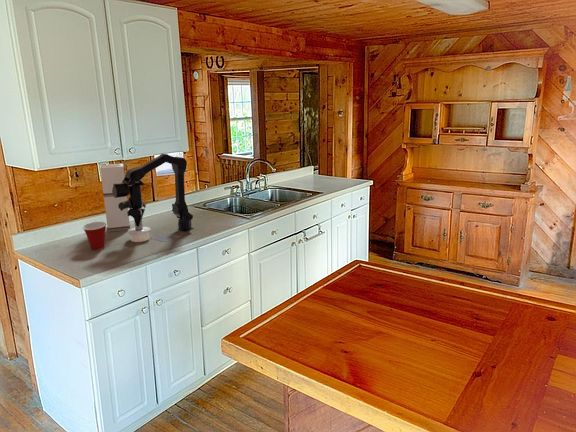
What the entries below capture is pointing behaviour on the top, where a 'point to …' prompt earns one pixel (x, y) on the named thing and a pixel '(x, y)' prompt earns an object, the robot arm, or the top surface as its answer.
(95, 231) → the plastic cup
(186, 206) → the robot arm
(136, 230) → the lid
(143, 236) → the bowl
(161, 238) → the mat
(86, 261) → the top surface
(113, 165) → the mini fridge
